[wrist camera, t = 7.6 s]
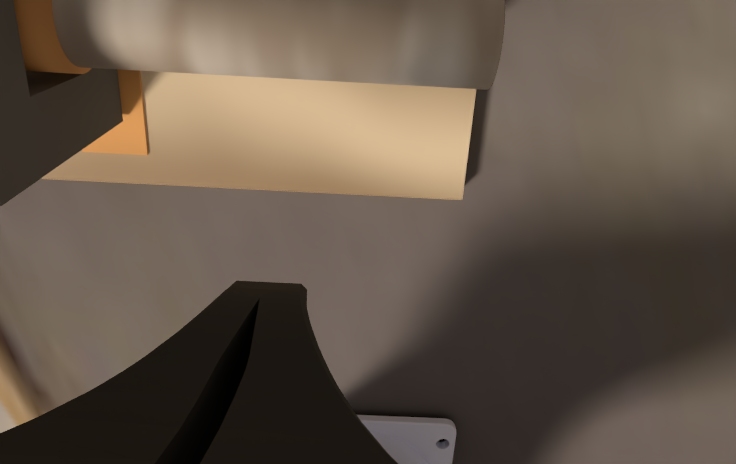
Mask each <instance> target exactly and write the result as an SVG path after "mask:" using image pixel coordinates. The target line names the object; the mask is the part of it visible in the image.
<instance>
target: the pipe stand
mask: <svg viewBox="0 0 736 464" xmlns="http://www.w3.org/2000/svg"><path fill="white" fill-rule="evenodd" d="M13 1H14V7H15V13H16V18H17V24H18V30H19V36H20V41H21V47H22V53H23V59H24V65H25V70H26V71H36V72H54V73H72V74H85V73H87V72H89V71H90V70H91V69H92V68H101V69H117V71H118V80H119V89H120V98H121V107H122V116H123V122H121V123H120V124H118V125H117V126H115V127H114V128H113V129H111V130H110V131H108V132H107V133H105V134H104V135H102V136H101V137H100V138H98V139H97V140H95V141H94V142H92V143H91V144H90V145H88V146H87V147H85V148H84V149H82V150H81V151H79V152H78V153H77V154H75V155H74V156H72V157H71V158H69V159H68V160H67V161H65V162H64V163H62V164H61V165H59V166H58V167H56V168H55V169H54V170H52V171H51V172H49V173H48V174H46V175H45V176H44V177H42V178H41V179H55V180H75V181H95V182H115V183H135V184H155V185H175V186H194V187H214V188H234V189H254V190H274V191H294V192H314V193H334V194H354V195H374V196H394V197H414V198H433V199H453V200H462V198H463V190H464V183H465V175H466V167H467V159H468V151H469V143H470V136H471V128H472V120H473V112H474V104H475V96H476V89H483V90H488V89H489V88H490V87H491V85H492V84H493V81H494V79H495V76H496V73H497V69H498V65H499V60H500V55H501V50H502V43H503V35H504V24H505V0H13Z"/></svg>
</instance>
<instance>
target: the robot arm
mask: <svg viewBox="0 0 736 464" xmlns="http://www.w3.org/2000/svg"><path fill="white" fill-rule="evenodd" d="M440 439H446V441H444V442H439V441H438V440H440ZM455 441H456V427H455V424H454V423H453V421H451V420H449V419H445V418H423V417H398V416H373V415H356V413H355V412H354V410H353V409H352V408H351V406H350V405H349V403H348V402H347V400H346V399H345V397H344V395H343V394H342V392H341V391H340V389H339V387H338V386H337V384H336V382H335V380H334V378H333V376H332V375H331V373H330V371H329V369H328V367H327V364H326V362H325V360H324V358H323V356H322V354H321V351H320V349H319V347H318V344H317V341H316V338H315V336H314V333H313V330H312V327H311V324H310V320H309V316H308V312H307V289H306V288H305V287H304V286H303V285H302V284H293V283H272V282H250V281H236V282H235V283H234V284H232V285H231V286H230V287H229V288H228V289H227V290H225V291H224V292H223V293H222V294H221V295H220V296H219V297H217V298H216V299H215V300H214V301H213V302H212V303H211V304H210V305H209V306H207V307H206V308H205V309H204V310H203V311H202V312H201V313H200V314H198V315H197V316H196V317H195V318H194V319H193V320H191V321H190V322H189V323H188V324H187V325H185V326H184V327H183V328H182V329H181V330H179V331H178V332H177V333H176V334H174V335H173V336H172V337H170V338H169V339H168V340H166V341H165V342H164V343H162V344H161V345H160V346H158V347H157V348H156V349H154V350H153V351H152V352H150V353H149V354H148V355H146V356H145V357H144V358H142V359H141V360H139V361H138V362H136V363H135V364H133V365H132V366H130V367H129V368H127V369H126V370H124V371H123V372H121V373H119V374H118V375H116V376H114V377H113V378H111V379H109V380H108V381H106V382H104V383H103V384H101V385H99V386H98V387H96V388H94V389H92V390H90V391H89V392H87V393H85V394H83V395H81V396H79V397H77V398H75V399H73V400H71V401H69V402H67V403H65V404H63V405H61V406H59V407H57V408H55V409H53V410H51V411H49V412H47V413H45V414H43V415H41V416H39V417H37V418H35V419H32V420H30V421H28V422H26V423H23V424H21V425H19V426H16V427H14V428H12V429H10V430H7V431H5V432H3V433H0V464H452V461H453V454H454V448H455Z"/></svg>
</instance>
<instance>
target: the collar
mask: <svg viewBox="0 0 736 464" xmlns="http://www.w3.org/2000/svg"><path fill="white" fill-rule="evenodd" d="M121 122H123V116H122V107H121V98H120V89H119V80H118V71H117V69H101V68H92V69H91V70H90V71H89V72H87V73H85V74H72V73H54V72H36V71H26V70H25V65H24V59H23V53H22V47H21V41H20V36H19V30H18V24H17V18H16V13H15V7H14V1H13V0H0V206H2V205H3V204H5V203H6V202H8V201H9V200H10V199H12V198H13V197H15V196H16V195H18V194H19V193H21V192H22V191H23V190H25V189H26V188H28V187H29V186H31V185H32V184H33V183H35V182H36V181H38V180H39V179H41V178H42V177H44V176H45V175H46V174H48V173H49V172H51V171H52V170H54V169H55V168H56V167H58V166H59V165H61V164H62V163H64V162H65V161H67V160H68V159H69V158H71V157H72V156H74V155H75V154H77V153H78V152H79V151H81V150H82V149H84V148H85V147H87V146H88V145H90V144H91V143H92V142H94V141H95V140H97V139H98V138H100V137H101V136H102V135H104V134H105V133H107V132H108V131H110V130H111V129H113V128H114V127H115V126H117V125H118V124H120V123H121Z"/></svg>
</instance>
